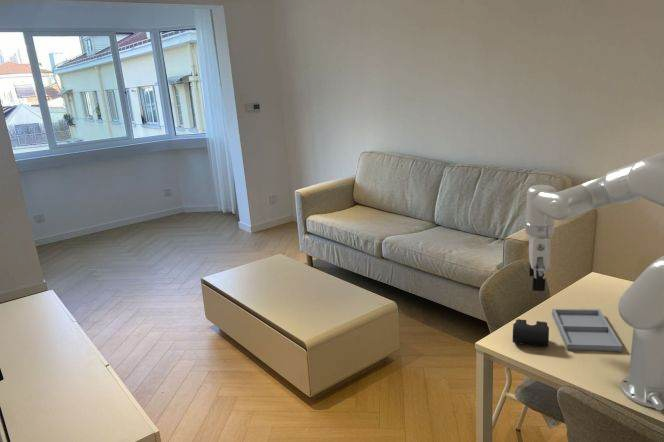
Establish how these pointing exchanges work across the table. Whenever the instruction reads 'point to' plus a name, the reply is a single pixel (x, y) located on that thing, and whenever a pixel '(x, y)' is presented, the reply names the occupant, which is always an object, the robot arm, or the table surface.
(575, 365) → the table surface
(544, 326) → the end cap
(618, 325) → the table surface
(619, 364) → the table surface
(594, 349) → the divided grey tray
